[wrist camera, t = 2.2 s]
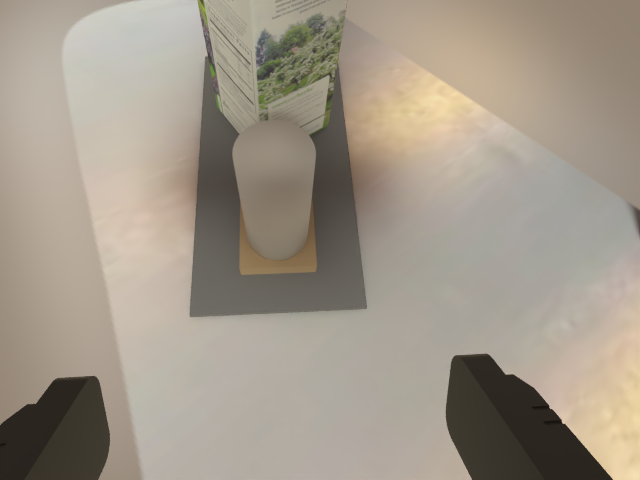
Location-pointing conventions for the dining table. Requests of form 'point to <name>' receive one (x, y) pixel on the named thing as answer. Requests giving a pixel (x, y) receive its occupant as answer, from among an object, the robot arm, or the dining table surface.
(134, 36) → the dining table surface
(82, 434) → the robot arm
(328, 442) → the dining table surface
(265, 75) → the syrup box
